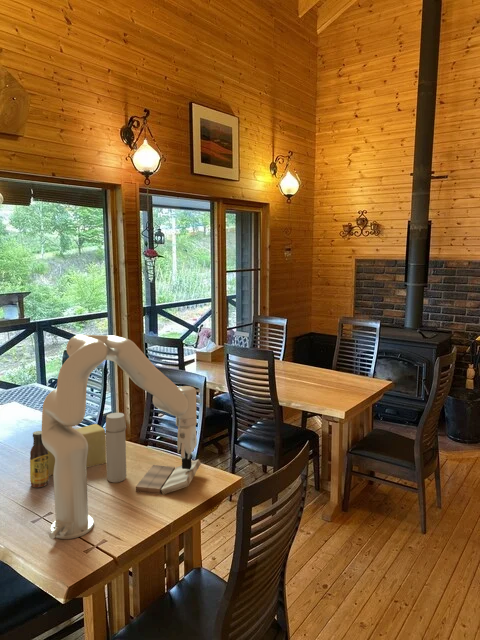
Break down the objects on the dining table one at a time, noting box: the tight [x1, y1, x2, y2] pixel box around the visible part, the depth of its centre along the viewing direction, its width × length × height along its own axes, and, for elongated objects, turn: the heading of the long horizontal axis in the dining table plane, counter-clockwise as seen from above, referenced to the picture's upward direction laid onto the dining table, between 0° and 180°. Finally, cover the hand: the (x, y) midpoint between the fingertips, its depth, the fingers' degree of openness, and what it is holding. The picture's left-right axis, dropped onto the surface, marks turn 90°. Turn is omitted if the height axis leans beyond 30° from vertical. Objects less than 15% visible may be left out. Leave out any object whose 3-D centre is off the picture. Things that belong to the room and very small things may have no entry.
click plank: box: [161, 458, 201, 495], centre depth 177 cm, size 18×10×2 cm, turn 170°
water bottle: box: [104, 412, 127, 483], centre depth 180 cm, size 9×8×25 cm
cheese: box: [48, 423, 107, 476], centre depth 189 cm, size 22×10×15 cm, turn 130°
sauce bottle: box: [29, 430, 50, 489], centre depth 174 cm, size 6×6×20 cm
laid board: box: [135, 464, 176, 495], centre depth 179 cm, size 18×9×2 cm, turn 170°
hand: (186, 468), depth 176 cm, fingers closed
